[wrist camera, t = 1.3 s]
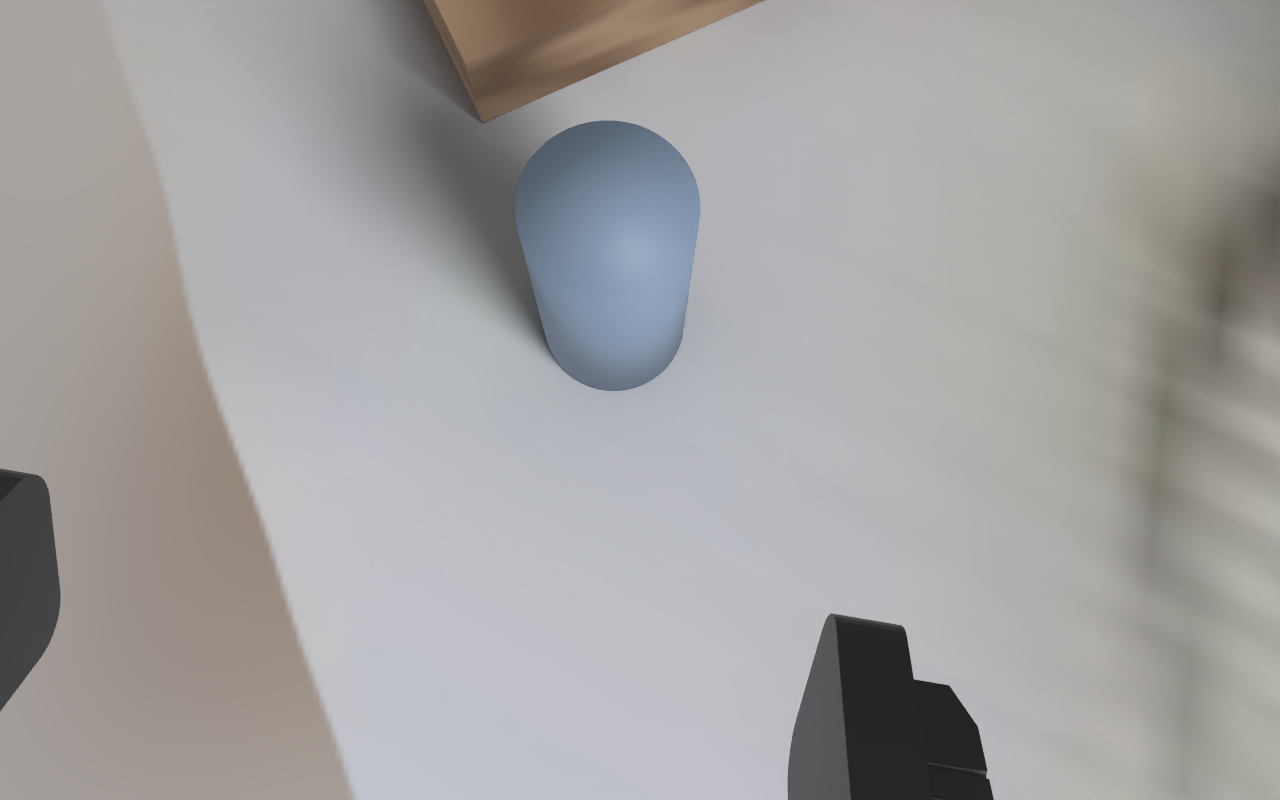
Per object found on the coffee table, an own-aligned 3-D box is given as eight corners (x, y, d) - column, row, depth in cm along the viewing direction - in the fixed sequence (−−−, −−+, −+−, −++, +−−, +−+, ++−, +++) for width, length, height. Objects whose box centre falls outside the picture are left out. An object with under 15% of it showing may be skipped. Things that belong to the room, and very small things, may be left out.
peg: (646, 235, 39) (650, 92, 30) (707, 354, 39) (731, 248, 29) (521, 291, 39) (484, 165, 29) (580, 413, 38) (561, 326, 28)
